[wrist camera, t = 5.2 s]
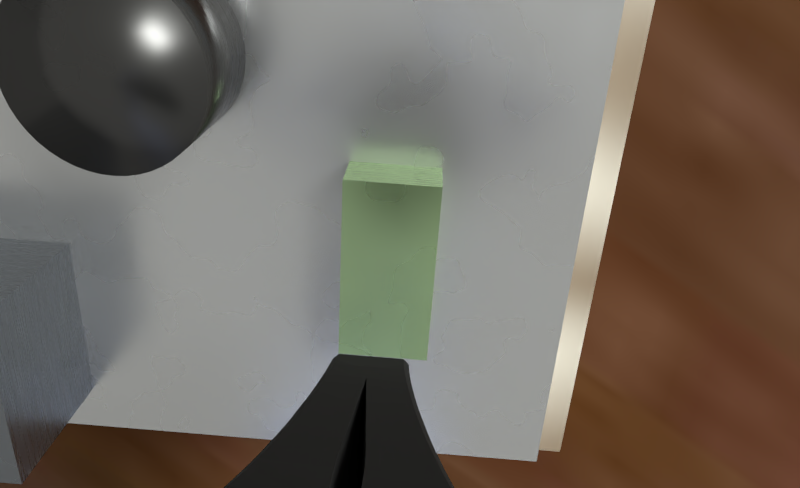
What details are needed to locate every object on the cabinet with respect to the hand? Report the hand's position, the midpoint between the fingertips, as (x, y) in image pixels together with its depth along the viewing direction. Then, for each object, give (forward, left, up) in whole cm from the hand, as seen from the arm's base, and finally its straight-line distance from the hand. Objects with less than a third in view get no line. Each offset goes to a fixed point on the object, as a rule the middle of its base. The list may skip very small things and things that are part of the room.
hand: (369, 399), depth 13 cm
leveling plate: (0, +6, -7) cm, 9 cm away
